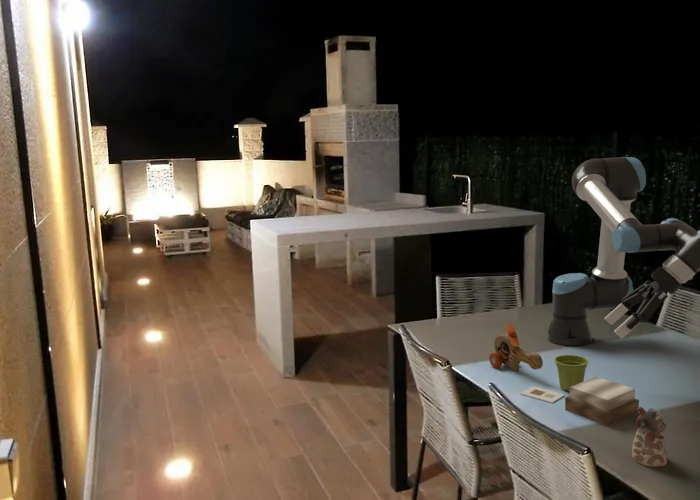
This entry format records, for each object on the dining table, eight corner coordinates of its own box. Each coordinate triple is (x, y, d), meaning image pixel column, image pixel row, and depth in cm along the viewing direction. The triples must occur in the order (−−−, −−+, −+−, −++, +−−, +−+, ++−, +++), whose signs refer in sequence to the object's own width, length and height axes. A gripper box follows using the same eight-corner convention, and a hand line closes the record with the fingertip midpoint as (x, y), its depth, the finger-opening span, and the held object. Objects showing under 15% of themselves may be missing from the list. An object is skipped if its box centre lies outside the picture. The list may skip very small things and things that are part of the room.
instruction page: (520, 394, 183) (520, 392, 183) (533, 387, 188) (533, 385, 188) (552, 403, 176) (552, 401, 176) (564, 395, 180) (564, 394, 180)
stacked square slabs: (565, 409, 171) (565, 386, 170) (595, 397, 178) (595, 375, 177) (608, 426, 160) (608, 401, 159) (638, 412, 167) (639, 388, 166)
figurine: (661, 470, 139) (663, 418, 137) (627, 460, 143) (628, 410, 141) (670, 457, 144) (672, 407, 142) (638, 448, 148) (639, 399, 147)
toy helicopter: (506, 360, 211) (506, 319, 209) (551, 379, 193) (551, 335, 191) (486, 364, 208) (486, 323, 206) (530, 384, 189) (530, 340, 187)
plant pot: (548, 383, 190) (549, 355, 188) (579, 381, 190) (580, 353, 189) (561, 395, 180) (562, 366, 179) (594, 393, 181) (594, 364, 180)
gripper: (697, 295, 162) (632, 351, 167) (668, 275, 186) (613, 325, 192) (675, 274, 162) (611, 331, 168) (649, 258, 187) (594, 308, 192)
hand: (612, 328), depth 180 cm, fingers open, 13 cm apart
